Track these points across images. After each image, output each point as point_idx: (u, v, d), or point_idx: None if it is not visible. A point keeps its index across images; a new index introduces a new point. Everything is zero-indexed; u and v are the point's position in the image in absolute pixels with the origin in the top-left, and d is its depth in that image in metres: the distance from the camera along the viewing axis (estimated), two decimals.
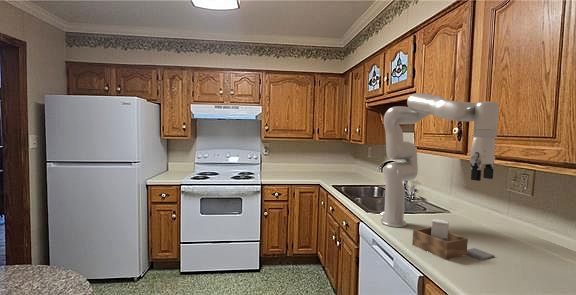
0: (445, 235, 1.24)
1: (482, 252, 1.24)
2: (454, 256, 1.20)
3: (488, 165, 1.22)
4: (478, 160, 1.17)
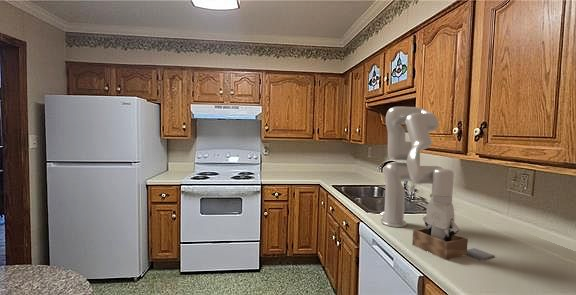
0: (445, 235, 1.24)
1: (482, 252, 1.24)
2: (454, 256, 1.20)
3: None
4: None
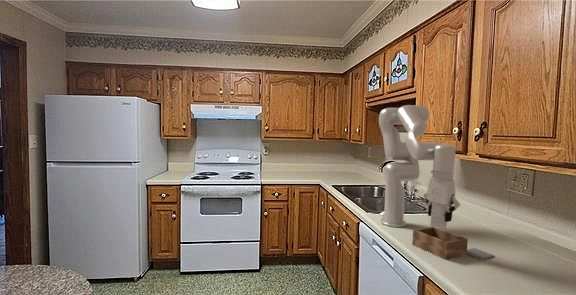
0: (446, 211, 1.24)
1: (482, 252, 1.24)
2: (454, 256, 1.20)
3: None
4: None
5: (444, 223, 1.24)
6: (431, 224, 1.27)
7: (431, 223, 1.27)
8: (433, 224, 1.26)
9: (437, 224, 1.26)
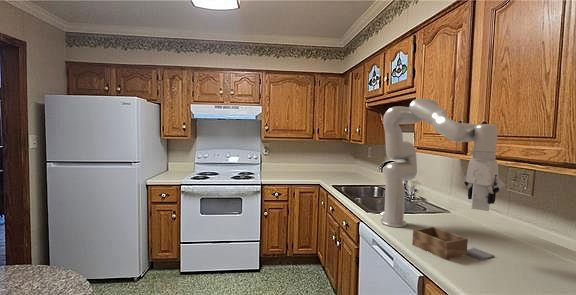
0: (488, 192, 1.19)
1: (482, 252, 1.24)
2: (454, 256, 1.20)
3: (470, 186, 1.26)
4: None
5: (487, 205, 1.19)
6: (472, 207, 1.22)
7: (472, 206, 1.22)
8: (475, 207, 1.21)
9: (479, 207, 1.21)
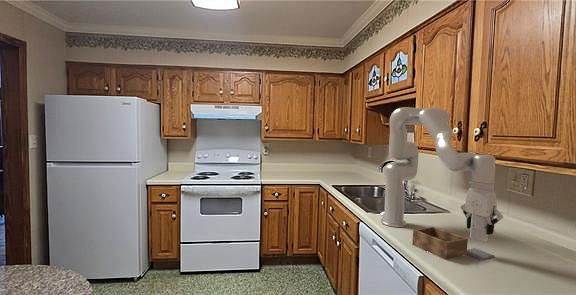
0: (487, 223, 1.20)
1: (482, 252, 1.24)
2: (454, 256, 1.20)
3: None
4: None
5: (485, 236, 1.20)
6: (471, 237, 1.22)
7: (471, 236, 1.22)
8: (474, 237, 1.22)
9: (478, 237, 1.21)
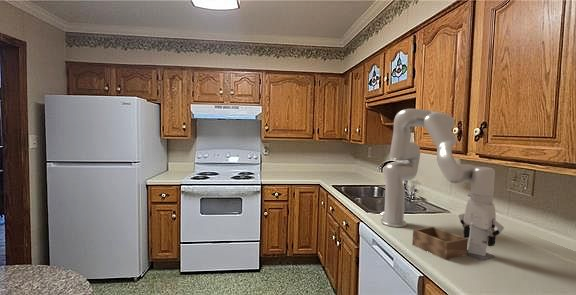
0: (485, 238, 1.20)
1: None
2: (454, 256, 1.20)
3: None
4: None
5: (483, 250, 1.21)
6: (469, 251, 1.23)
7: (469, 250, 1.23)
8: (472, 252, 1.23)
9: (476, 251, 1.22)
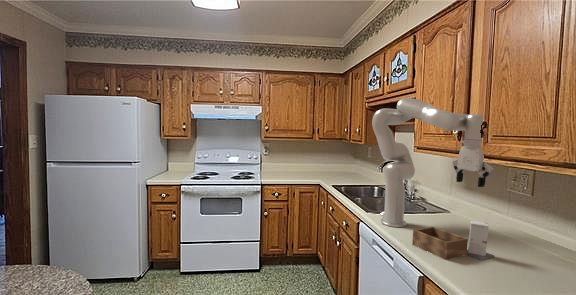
0: (485, 238, 1.20)
1: None
2: (454, 256, 1.20)
3: None
4: None
5: (483, 250, 1.21)
6: (469, 251, 1.23)
7: (469, 250, 1.23)
8: (472, 252, 1.23)
9: (476, 251, 1.22)
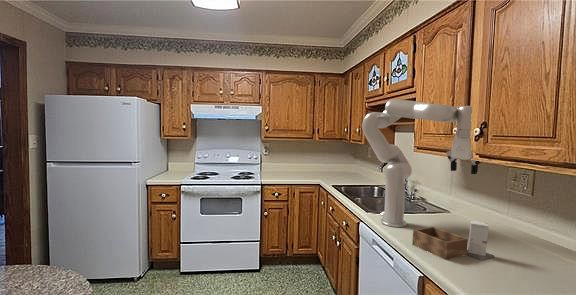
0: (485, 238, 1.20)
1: None
2: (454, 256, 1.20)
3: None
4: None
5: (483, 250, 1.21)
6: (469, 251, 1.23)
7: (469, 250, 1.23)
8: (472, 252, 1.23)
9: (476, 251, 1.22)
